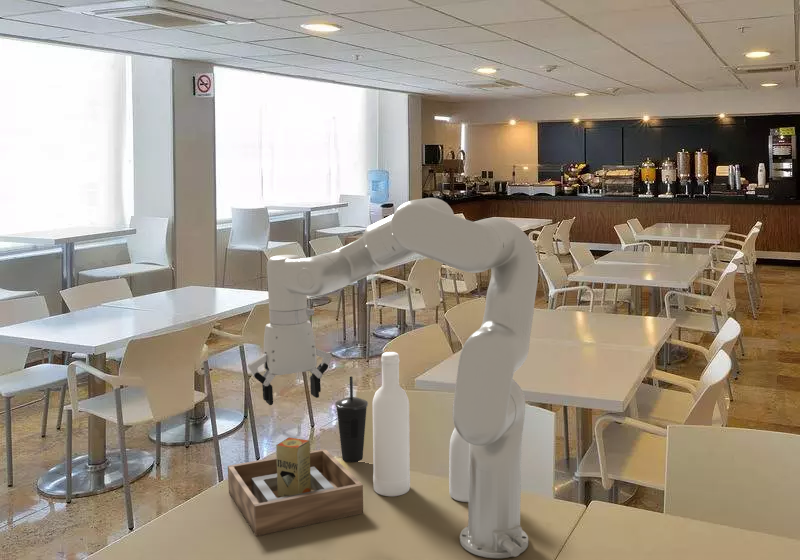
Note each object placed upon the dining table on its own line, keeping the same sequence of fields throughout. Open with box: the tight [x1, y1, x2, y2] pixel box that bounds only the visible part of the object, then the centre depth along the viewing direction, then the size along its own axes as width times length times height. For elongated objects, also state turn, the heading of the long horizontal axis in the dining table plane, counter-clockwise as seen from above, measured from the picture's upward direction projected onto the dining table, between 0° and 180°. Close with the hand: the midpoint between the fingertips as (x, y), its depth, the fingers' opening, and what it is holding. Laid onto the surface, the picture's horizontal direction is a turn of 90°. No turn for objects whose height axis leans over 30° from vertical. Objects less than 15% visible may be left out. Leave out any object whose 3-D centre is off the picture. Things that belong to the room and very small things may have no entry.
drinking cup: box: [335, 376, 369, 463], centre depth 187 cm, size 8×8×20 cm
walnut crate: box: [227, 448, 364, 537], centre depth 164 cm, size 22×22×6 cm
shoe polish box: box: [275, 436, 311, 498], centre depth 163 cm, size 5×5×12 cm
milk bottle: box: [448, 427, 469, 503], centre depth 166 cm, size 8×8×20 cm
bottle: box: [372, 351, 411, 497], centre depth 168 cm, size 8×8×30 cm
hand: (292, 399), depth 161 cm, fingers open, 9 cm apart
